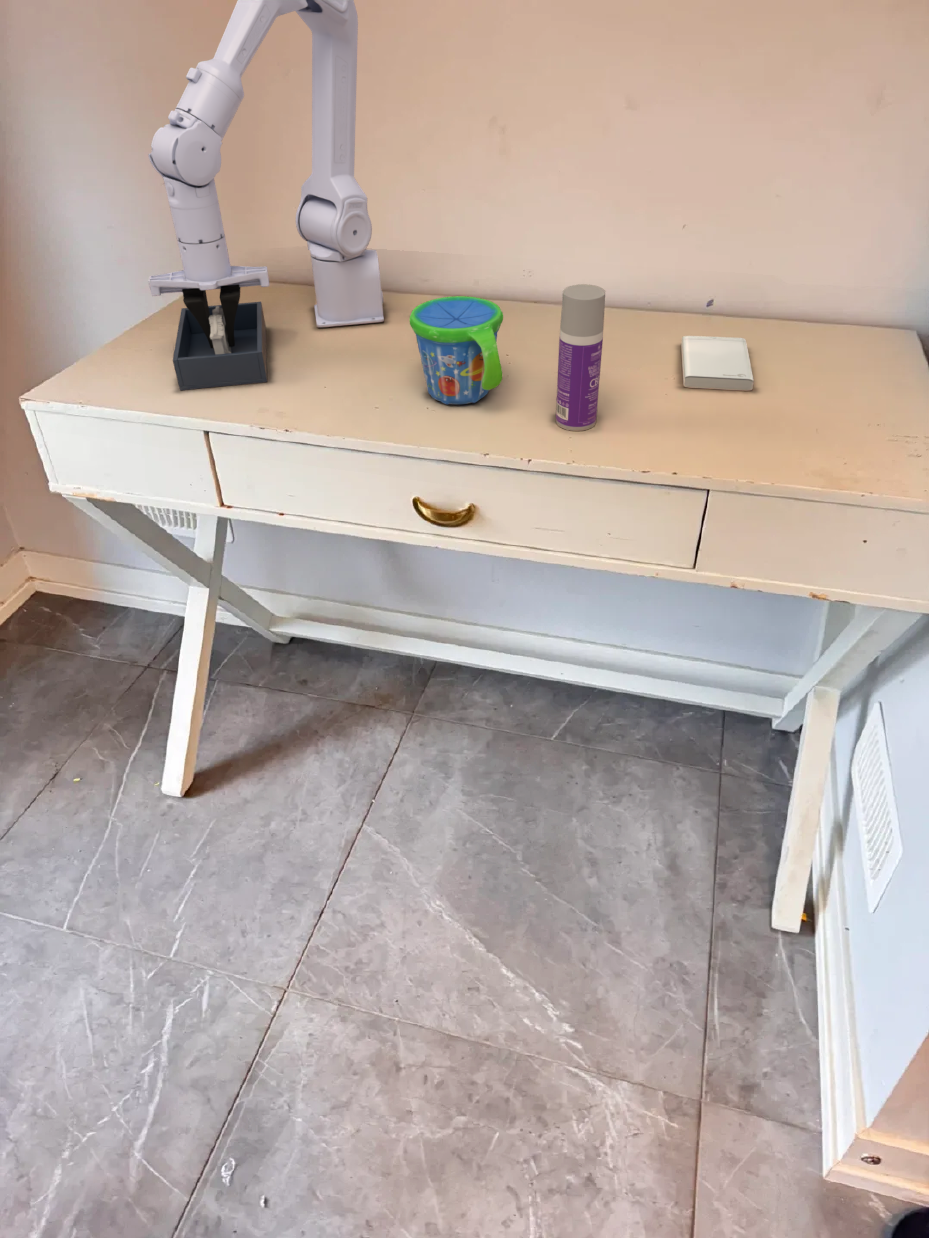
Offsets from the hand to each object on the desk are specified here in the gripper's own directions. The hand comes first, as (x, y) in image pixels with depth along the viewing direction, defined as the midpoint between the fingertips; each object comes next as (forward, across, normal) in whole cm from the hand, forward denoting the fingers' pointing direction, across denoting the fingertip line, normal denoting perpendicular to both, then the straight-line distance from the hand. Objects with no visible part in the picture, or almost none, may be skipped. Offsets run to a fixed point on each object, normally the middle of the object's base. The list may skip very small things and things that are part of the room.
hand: (222, 344), depth 117 cm
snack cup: (+2, +28, -17) cm, 33 cm away
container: (+2, +40, -27) cm, 49 cm away
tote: (+2, 0, 0) cm, 2 cm away
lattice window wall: (+2, 0, 0) cm, 2 cm away
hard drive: (+2, +62, -17) cm, 64 cm away
